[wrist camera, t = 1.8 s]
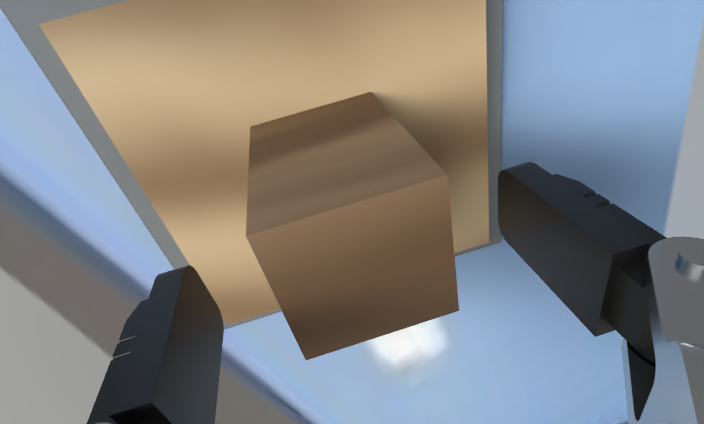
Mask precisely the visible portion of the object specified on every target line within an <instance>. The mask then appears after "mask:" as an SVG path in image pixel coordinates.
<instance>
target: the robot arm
mask: <svg viewBox="0 0 704 424" xmlns="http://www.w3.org/2000/svg"><path fill="white" fill-rule="evenodd" d="M498 224H499V228H500V231H501V233H502V235H503V237H504V239H505V240H506V241H507V243H508V244H509V245H510V246H511V247H512V248H513V249H514V250H515V251H516V252H517V253H518V254H519V255H520V257H521V258H522V259H523V260H524V261H525V262H526V263H527V264H528V265H529V266H530V267H531V268H532V269H533V270H534V272H535V273H536V274H537V275H538V276H539V277H540V278H541V279H542V280H543V281H544V282H545V283H546V284H547V286H548V287H549V288H550V289H551V290H552V291H553V292H554V293H555V294H556V295H557V296H558V297H559V298H560V299H561V301H562V302H563V303H564V304H565V305H566V306H567V307H568V308H569V309H570V310H571V311H572V312H573V313H574V314H575V316H576V317H577V318H578V319H579V320H580V321H581V322H582V323H583V324H584V325H585V326H586V327H587V328H588V329H589V331H590V332H591V333H592V334H593V335H594V336H595V337H596V336H599V335H602V334H605V333H608V332H611V331H614V330H616V331H617V332H618V333H619V334H620V335H621V336H622V337H623V338H624V339H623V342H622V357H623V368H624V379H625V390H626V401H627V412H628V423H629V424H704V239H699V238H692V237H672V238H666V237H664V236H663V235H661V234H660V233H658V232H657V231H655V230H654V229H652V228H650V227H649V226H647V225H646V224H644V223H643V222H641V221H640V220H638V219H636V218H635V217H633V216H632V215H630V214H629V213H627V212H626V211H624V210H622V209H621V208H619V207H618V206H616V205H615V204H610V203H609V201H608V200H607V199H605V198H604V197H602V196H601V195H599V194H597V195H596V194H595V192H594V191H593V190H591V189H590V188H588V187H587V186H585V185H584V184H582V183H580V182H579V181H576V180H573V179H570V178H567V177H564V176H560V175H557V174H555V175H551V174H549V173H548V172H547V171H545V170H544V169H542V168H541V167H539V166H538V165H536V164H535V163H532V162H528V163H524V164H521V165H518V166H515V167H511V168H508V169H505V170H502V171H500V173H499V175H498ZM223 332H224V326H223V319H222V315H221V312H220V309H219V307H218V305H217V304H216V302H215V300H214V299H213V297H212V295H211V294H210V292H209V291H208V289H207V287H206V286H205V284H204V282H203V281H202V279H201V277H200V276H199V274H198V273H197V271H196V270H195V268H194V267H192V266H190V265H188V266H185V267H182V268H178V269H175V270H172V271H168V272H165V273H162V274H159V275H157V277H156V278H155V281H154V284H153V287H152V290H151V293H150V296H149V299H147V300H144V301H141V302H140V304H139V305H138V306H137V308H136V309H135V310H134V311H133V313H132V314H131V315H130V317H129V318H128V319H127V320H126V323H125V325H124V328H123V331H122V333H121V336H120V338H119V341H120V343H119V344H117V346H116V349H115V352H114V354H113V360H112V361H111V362H110V365H109V367H108V370H107V372H106V375H105V378H104V381H103V383H102V386H101V388H100V391H99V393H98V396H97V399H96V401H95V404H94V406H93V409H92V412H91V414H90V417H89V420H88V422H87V424H214V423H215V413H216V403H217V393H218V383H219V373H220V362H221V352H222V342H223Z"/></svg>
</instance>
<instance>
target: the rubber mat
mask: <svg viewBox="0 0 704 424" xmlns="http://www.w3.org/2000/svg"><path fill="white" fill-rule="evenodd" d="M124 1H127V0H0V8H1V10H2V11H3V13H4V14H5V16H6V17H7V19H8V20H9V22H10V23H11V25H12V26H13V28H14V29H15V31H16V32H17V34H18V35H19V37H20V38H21V40H22V41H23V43H24V44H25V46H26V47H27V49H28V50H29V52H30V53H31V55H32V56H33V58H34V59H35V61H36V62H37V64H38V65H39V67H40V68H41V70H42V71H43V73H44V74H45V76H46V77H47V79H48V80H49V82H50V83H51V85H52V86H53V88H54V89H55V91H56V92H57V94H58V95H59V97H60V98H61V100H62V101H63V103H64V104H65V106H66V107H67V109H68V110H69V112H70V113H71V115H72V116H73V118H74V119H75V121H76V122H77V124H78V125H79V127H80V128H81V130H82V131H83V133H84V134H85V136H86V137H87V139H88V140H89V142H90V143H91V145H92V146H93V148H94V149H95V151H96V152H97V154H98V155H99V157H100V158H101V160H102V161H103V163H104V164H105V166H106V167H107V169H108V170H109V172H110V173H111V175H112V176H113V178H114V179H115V181H116V182H117V184H118V185H119V187H120V188H121V190H122V191H123V193H124V194H125V196H126V197H127V199H128V200H129V202H130V203H131V205H132V206H133V208H134V209H135V211H136V212H137V214H138V215H139V217H140V218H141V220H142V221H143V223H144V224H145V226H146V227H147V229H148V230H149V232H150V233H151V235H152V236H153V238H154V239H155V241H156V242H157V244H158V245H159V247H160V248H161V250H162V251H163V253H164V254H165V256H166V257H167V259H168V260H169V262H170V263H171V265H172V266H173V268H174V269H178V268H182V267H185V266H188V265H190V264H189V263H188V261H187V260H186V258H185V256H184V255H183V253H182V252H181V250H180V248H179V247H178V245H177V244H176V242H175V241H174V239H173V237H172V236H171V234H170V233H169V231H168V229H167V228H166V226H165V225H164V223H163V221H162V220H161V218H160V217H159V215H158V213H157V212H156V210H155V209H154V207H153V205H152V204H151V202H150V201H149V199H148V198H147V196H146V194H145V193H144V191H143V190H142V188H141V186H140V185H139V183H138V182H137V180H136V178H135V177H134V175H133V174H132V172H131V170H130V169H129V167H128V166H127V164H126V162H125V161H124V159H123V158H122V156H121V155H120V153H119V151H118V150H117V148H116V147H115V145H114V143H113V142H112V140H111V139H110V137H109V135H108V134H107V132H106V131H105V129H104V127H103V126H102V124H101V123H100V121H99V119H98V118H97V116H96V115H95V113H94V112H93V110H92V108H91V107H90V105H89V104H88V102H87V100H86V99H85V97H84V96H83V94H82V92H81V91H80V89H79V88H78V86H77V84H76V83H75V81H74V80H73V78H72V76H71V75H70V73H69V72H68V70H67V69H66V67H65V65H64V64H63V62H62V61H61V59H60V57H59V56H58V54H57V53H56V51H55V49H54V48H53V46H52V45H51V43H50V41H49V40H48V38H47V37H46V35H45V33H44V32H43V30H42V29H41V27H40V26H39V24H41V23H45V22H48V21H52V20H56V19H60V18H63V17H67V16H71V15H75V14H78V13H82V12H86V11H90V10H94V9H97V8H101V7H105V6H109V5H112V4H116V3H120V2H124ZM502 13H503V0H486V43H487V119H488V195H489V242H488V243H485V244H482V245H479V246H476V247H472V248H469V249H466V250H463V251H460V252H457V253H454V256H458V255H461V254H464V253H467V252H470V251H473V250H477V249H480V248H483V247H486V246H489V245H492V244H495V243H499V242H500V236H501V231H500V228H499V224H498V175H499V173H500V171H501V124H502ZM281 311H282V310H281V308H280V309H277V310H273V311H270V312H267V313H264V314H261V315H258V316H254V317H251V318H248V319H245V320H242V321H239V322H235V323H232V324H229V325H227V323H226V322H225V320H224V319H223V317H222V319H223V326H224V329H227V328H230V327H234V326H237V325H240V324H243V323H246V322H249V321H252V320H256V319H259V318H262V317H265V316H268V315H271V314H275V313H278V312H281Z"/></svg>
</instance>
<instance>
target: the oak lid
mask: <svg viewBox="0 0 704 424" xmlns="http://www.w3.org/2000/svg"><path fill="white" fill-rule="evenodd" d="M39 26H40V27H41V29H42V30H43V32H44V33H45V35H46V37H47V38H48V40H49V41H50V43H51V45H52V46H53V48H54V49H55V51H56V53H57V54H58V56H59V57H60V59H61V61H62V62H63V64H64V65H65V67H66V69H67V70H68V72H69V73H70V75H71V76H72V78H73V80H74V81H75V83H76V84H77V86H78V88H79V89H80V91H81V92H82V94H83V96H84V97H85V99H86V100H87V102H88V104H89V105H90V107H91V108H92V110H93V112H94V113H95V115H96V116H97V118H98V119H99V121H100V123H101V124H102V126H103V127H104V129H105V131H106V132H107V134H108V135H109V137H110V139H111V140H112V142H113V143H114V145H115V147H116V148H117V150H118V151H119V153H120V155H121V156H122V158H123V159H124V161H125V162H126V164H127V166H128V167H129V169H130V170H131V172H132V174H133V175H134V177H135V178H136V180H137V182H138V183H139V185H140V186H141V188H142V190H143V191H144V193H145V194H146V196H147V198H148V199H149V201H150V202H151V204H152V205H153V207H154V209H155V210H156V212H157V213H158V215H159V217H160V218H161V220H162V221H163V223H164V225H165V226H166V228H167V229H168V231H169V233H170V234H171V236H172V237H173V239H174V241H175V242H176V244H177V245H178V247H179V248H180V250H181V252H182V253H183V255H184V256H185V258H186V260H187V261H188V263H189V264H190V266H192V267H194V268H195V270H196V271H197V273H198V274H199V276H200V277H201V279H202V281H203V282H204V284H205V286H206V287H207V289H208V291H209V292H210V294H211V295H212V297H213V299H214V300H215V302H216V304H217V305H218V307H219V309H220V312H221V315H222V317H223V319H224V320H225V322H226V323H227V325H229V324H232V323H235V322H239V321H242V320H245V319H248V318H251V317H254V316H258V315H261V314H264V313H267V312H270V311H273V310H277V309H280V308H281V310H282V312H283V314H284V316H285V318H286V320H287V322H288V324H289V326H290V328H291V331H292V333H293V335H294V337H295V339H296V341H297V343H298V345H299V347H300V349H301V351H302V353H303V355H304V357H305V359H306V360H308V359H312V358H315V357H318V356H321V355H324V354H327V353H330V352H333V351H336V350H339V349H342V348H345V347H348V346H352V345H355V344H358V343H361V342H364V341H367V340H370V339H373V338H376V337H379V336H382V335H385V334H388V333H392V332H395V331H398V330H401V329H404V328H407V327H410V326H413V325H416V324H419V323H422V322H425V321H428V320H432V319H435V318H438V317H441V316H444V315H447V314H450V313H453V312H456V311H459V306H458V294H457V282H456V270H455V258H454V253H457V252H460V251H463V250H466V249H469V248H472V247H476V246H479V245H482V244H485V243H488V242H489V195H488V119H487V43H486V0H127V1H124V2H120V3H116V4H112V5H109V6H105V7H101V8H97V9H94V10H90V11H86V12H82V13H78V14H75V15H71V16H67V17H63V18H60V19H56V20H52V21H48V22H45V23H41V24H39Z"/></svg>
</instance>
